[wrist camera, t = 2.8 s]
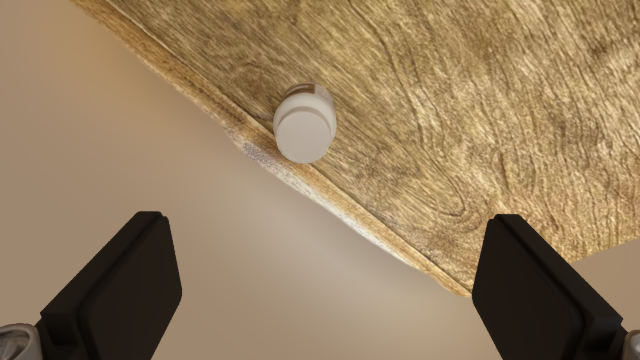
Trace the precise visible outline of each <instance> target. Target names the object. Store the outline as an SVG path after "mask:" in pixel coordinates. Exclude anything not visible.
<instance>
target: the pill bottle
mask: <svg viewBox="0 0 640 360" xmlns="http://www.w3.org/2000/svg"><path fill="white" fill-rule="evenodd" d="M336 128H337V124H336V114H335V106H334V101H333V99H332V97H331V95H330V94H329V92H328V91H327V90H326V89H325V88H324V87H322V86H320V85H318V84H316V83H312V82H301V83H298V84H296V85H294V86H292V87H291V88H290V89H288V90H287V92H286V93H285V94H284V96H283V98H282V100H281V101H280V104H279V106H278V108H277V110H276V112H275V115H274V119H273V131H274V135H275V137H276V143H277V146H278V148H279V150H280V152H281V153H282V154H283V155H284V156H285V157H286V158H287V159H288V160H290V161H292V162H295V163H299V164H309V163H313V162H315V161H317V160H319V159H320V158H322V157H323V156H324V155H325V153H326V152H327V150H328V148H329V146H330V144H331V143H332V141H333V139H334V137H335V134H336Z"/></svg>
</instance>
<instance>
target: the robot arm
mask: <svg viewBox="0 0 640 360" xmlns="http://www.w3.org/2000/svg"><path fill="white" fill-rule="evenodd" d="M181 297H182V287H181V281H180V277H179V271H178V266H177V261H176V256H175V250H174V245H173V240H172V235H171V230H170V225H169V220H168V218H167V217H166V216H163V215H162V214H161V212H158V211H156V212H154V211H139V212H137V213H136V214H135V215H134V216H133V217H132V218H131V219H130V220H129V221H128V222H127V223H126V224H125V225H124V226H123V227H122V228H121V230H120V231H119V232H118V233H117V234H116V235H115V236H114V237H113V238H112V239H111V240H110V241H109V242H108V243H107V244H106V245H105V246H104V247H103V248H102V249H101V250H100V251H99V252H98V253H97V254H96V255H95V256H94V257H93V259H92V260H91V261H89V263H88V264H87V265H86V266H85V267H84V268H83V269H82V270H81V271H80V272H79V273H78V274H77V275H76V276H75V277H74V278H73V279H72V280H71V281H70V282H69V283H68V284H67V285H66V286H65V287H64V288H63V289H62V290H61V291H60V293H58V295H57V296H56V297H55V298H54V299H53V300H52V301H51V302H50V303H49V304H48V305H47V306H46V307H45V308H44V309H43V310H42V311H41V312H40V314H41V317H42V318H41V319H40V320H39V321H38V322H37V323H36V325H35V326H32V325H30V324H23V323H17V324H11V325H6V326H3V327H0V360H151V358H152V356H153V354H154V352H155V350H156V348H157V346H158V344H159V342H160V340H161V338H162V336H163V334H164V333H165V331H166V329H167V327H168V325H169V323H170V320H171V319H172V317H173V315H174V313H175V311H176V309H177V307H178V305H179V303H180V301H181ZM472 300H473V304H474V306H475V308H476V310H477V312H478V313H479V315H480V317H481V319H482V321H483V323H484V325H485V327H486V329H487V331H488V332H489V334H490V336H491V338H492V340H493V342H494V344H495V346H496V348H497V350H498V352H499V353H500V355H501V357H502V359H503V360H640V330H633V331H631V332H629V333H628V332H627V331H626V330H625V329H624V328H623V327H622V326H621V322H622V320H623V318H622V317H621V316H620V315H619V314H618V313H617V312H616V311H615V310H614V309H613V308H612V307H611V306H610V305H609V304H608V303H607V302H606V301H605V300H604V299H603V298H602V297H601V296H600V295H599V294H598V293H597V292H596V291H595V290H594V289H593V288H592V287H591V286H590V285H589V284H588V283H587V282H586V281H585V280H584V279H583V278H582V277H581V276H580V275H579V274H578V273H577V272H576V271H575V270H574V269H573V268H572V267H571V266H570V265H569V264H568V263H567V262H566V261H565V260H564V259H563V258H562V257H561V256H560V255H559V254H558V253H557V252H556V251H555V250H554V249H553V248H552V247H551V246H550V245H549V244H548V243H547V242H546V241H545V240H544V239H543V238H542V237H541V236H540V235H539V234H538V233H537V232H536V231H535V230H534V229H533V228H532V227H531V226H530V225H529V224H528V223H527V222H526V221H525V220H524V219H523V218H522V217H521V216H520V215H518V214H497V215H495V217H494V218H493V219H490V220H489V221H488V223H487V227H486V231H485V236H484V240H483V245H482V249H481V254H480V258H479V263H478V267H477V272H476V276H475V281H474V285H473V290H472Z"/></svg>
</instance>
